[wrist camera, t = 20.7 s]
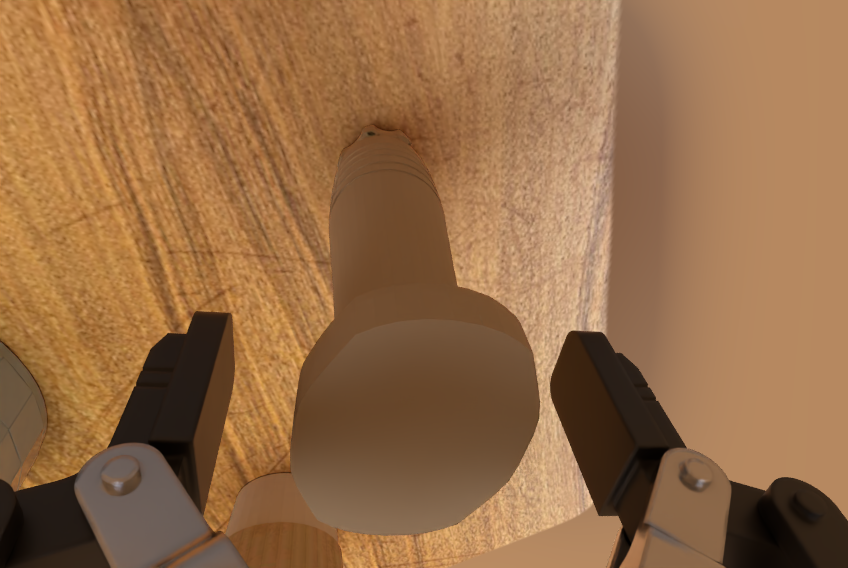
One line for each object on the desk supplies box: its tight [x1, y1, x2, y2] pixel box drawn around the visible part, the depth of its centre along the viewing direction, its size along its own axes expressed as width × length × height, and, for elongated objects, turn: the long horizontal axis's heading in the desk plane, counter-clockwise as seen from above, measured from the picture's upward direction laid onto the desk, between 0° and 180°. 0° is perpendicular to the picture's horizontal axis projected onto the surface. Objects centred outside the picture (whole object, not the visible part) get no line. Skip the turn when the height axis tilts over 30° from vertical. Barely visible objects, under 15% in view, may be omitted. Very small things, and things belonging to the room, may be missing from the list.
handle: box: [290, 125, 540, 536], centre depth 17 cm, size 5×6×15 cm
